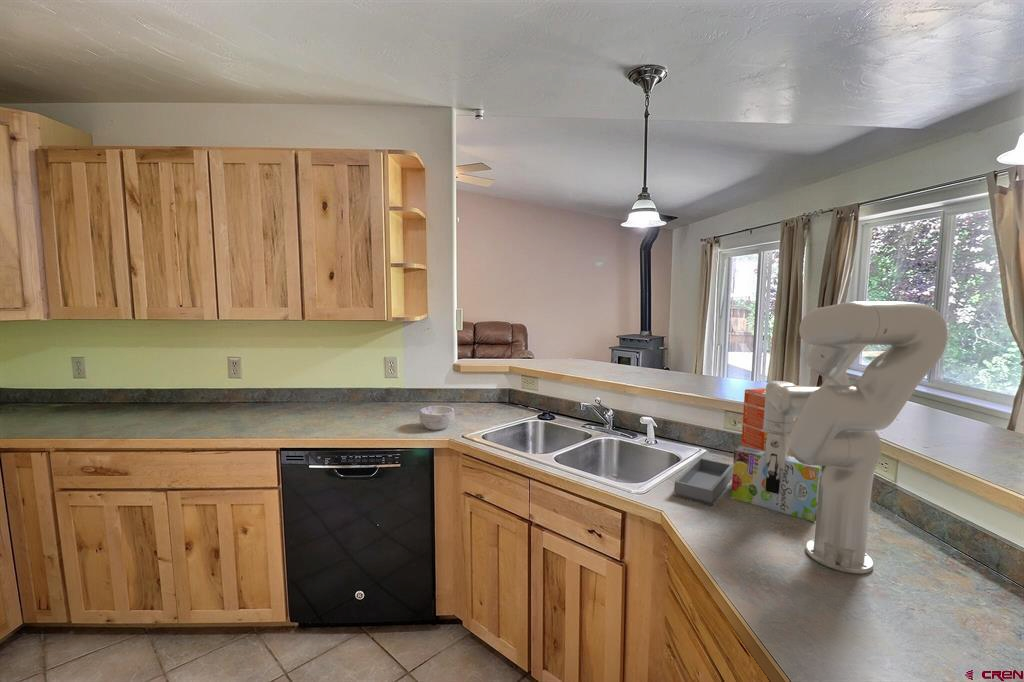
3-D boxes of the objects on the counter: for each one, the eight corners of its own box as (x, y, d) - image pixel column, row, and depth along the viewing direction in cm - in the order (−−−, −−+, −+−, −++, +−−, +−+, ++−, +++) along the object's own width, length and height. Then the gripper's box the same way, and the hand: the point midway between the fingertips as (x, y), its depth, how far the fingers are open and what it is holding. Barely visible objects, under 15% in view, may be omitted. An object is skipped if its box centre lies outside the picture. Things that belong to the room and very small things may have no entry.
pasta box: (760, 491, 141) (767, 395, 138) (739, 481, 149) (744, 389, 146) (813, 481, 149) (820, 389, 146) (790, 472, 157) (796, 385, 154)
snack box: (818, 516, 126) (823, 462, 125) (814, 523, 122) (819, 468, 120) (736, 492, 140) (739, 444, 139) (730, 498, 136) (733, 448, 135)
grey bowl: (451, 432, 197) (451, 414, 196) (416, 432, 197) (416, 413, 196) (456, 422, 212) (456, 405, 211) (423, 422, 212) (423, 405, 212)
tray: (711, 506, 131) (712, 491, 130) (673, 496, 137) (674, 481, 137) (732, 478, 151) (733, 464, 151) (698, 470, 158) (699, 457, 157)
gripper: (790, 436, 120) (785, 502, 122) (798, 421, 133) (793, 481, 135) (757, 430, 124) (753, 495, 126) (768, 417, 138) (764, 475, 140)
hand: (774, 487), depth 131 cm, fingers closed on snack box, 5 cm apart
